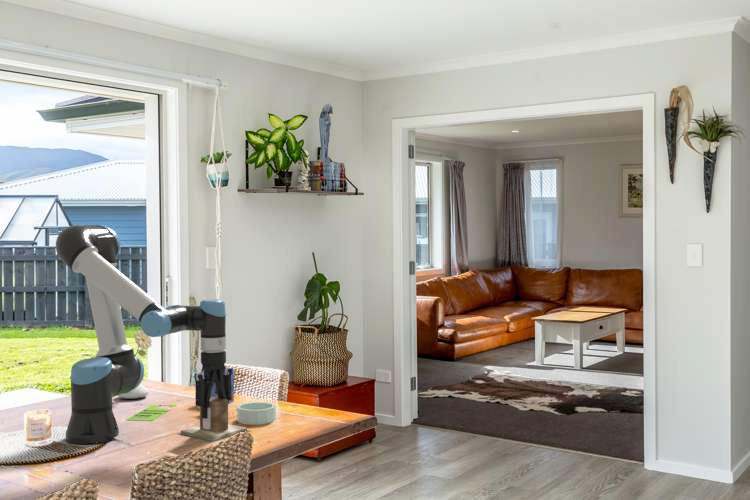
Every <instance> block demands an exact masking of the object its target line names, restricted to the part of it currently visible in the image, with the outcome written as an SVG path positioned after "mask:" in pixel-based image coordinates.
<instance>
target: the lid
mask: <svg viewBox="0 0 750 500" xmlns="http://www.w3.org/2000/svg"><path fill="white" fill-rule="evenodd" d="M208 407H210V408H211V429H210V430H208V429H204V428H203V418H202V417H201V407H200V410H199V425H197V426H194V427H193V426H192V427H188V428H186V429H181V430H180V433H181V434H184V435H189V436H193V437H197V438H202V439H206V440H211V441H214V440H217V439H221V438H225V437H228V436H232V435H235V434H237V433H240V432H245V431H247V430H248V427H244V426H240V425H235V424H230V423H229V404H228V400H226V399H221V398H215V397H210V401H209V406H208Z"/></svg>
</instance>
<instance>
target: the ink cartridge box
mask: <svg viewBox="0 0 750 500" xmlns="http://www.w3.org/2000/svg"><path fill="white" fill-rule="evenodd" d="M230 368H231V369H232V375H231V394H232V399H231V400H229V403H228V405H229V404H230V403H232V402H234V401H235V381H234V380H235V375H234V370H235V369H234V368H233V367H230ZM227 396H228V395H227ZM210 397H215V398H218V394H217V390H216V385H215V383H214V385H213V386H212V390H211V396H210Z"/></svg>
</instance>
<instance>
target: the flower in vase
mask: <svg viewBox="0 0 750 500" xmlns="http://www.w3.org/2000/svg"><path fill="white" fill-rule="evenodd" d="M151 338H152V337H150V336H147V335H146V334H145V333H144V332H143V330H142V329H141V330H140V329H138V330H137V332H135V333H134V340H135V344H136V345H137V349H136V352H135V353H134V355H135V356H137V355H139V356H140V357H144V356H146V355H148V353H147V351H145V350H148V349H149V348H151V346H152V342H153V341H152V339H151ZM139 348H141V349H139ZM148 394H149V389H148V388H147V387H146V386H144V385H143V384H142V383H140V384H139V386H138V387H137V388H135V389H133V390H131V391H130V392H128V393H124V394H120V395H117V396H118V397H119V398H121V399H126V400H127V399H129V400H130V399H131V400H132V399H140V398H144V397H146V396H148Z"/></svg>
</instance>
